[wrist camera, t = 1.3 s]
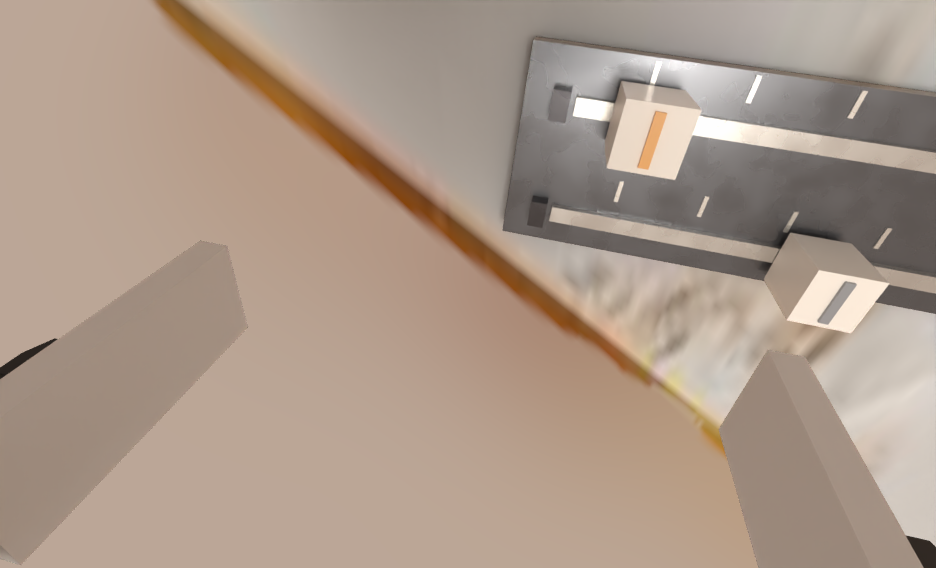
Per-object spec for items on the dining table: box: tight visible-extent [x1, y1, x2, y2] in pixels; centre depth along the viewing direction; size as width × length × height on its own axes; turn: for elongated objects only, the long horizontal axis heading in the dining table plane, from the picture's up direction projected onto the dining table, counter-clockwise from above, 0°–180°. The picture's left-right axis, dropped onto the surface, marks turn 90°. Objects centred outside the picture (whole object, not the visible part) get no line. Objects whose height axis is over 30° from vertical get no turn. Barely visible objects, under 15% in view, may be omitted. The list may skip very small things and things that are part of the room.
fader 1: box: [604, 81, 702, 180], centre depth 28 cm, size 4×4×5 cm
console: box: [503, 36, 936, 314], centre depth 32 cm, size 14×36×3 cm, turn 84°
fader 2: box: [764, 233, 890, 333], centre depth 31 cm, size 4×4×5 cm
